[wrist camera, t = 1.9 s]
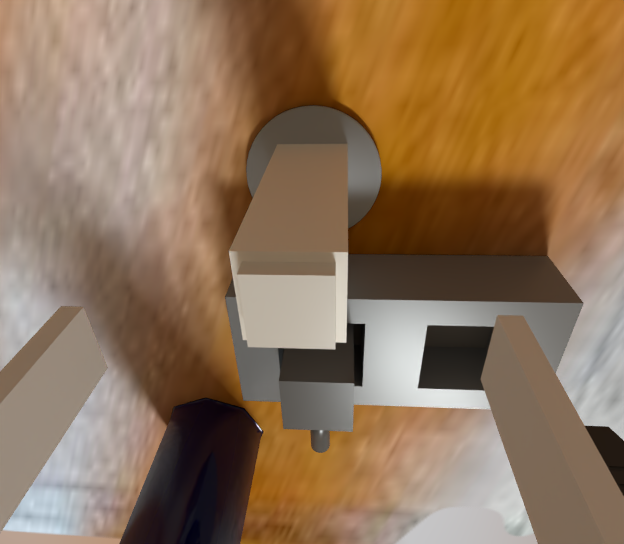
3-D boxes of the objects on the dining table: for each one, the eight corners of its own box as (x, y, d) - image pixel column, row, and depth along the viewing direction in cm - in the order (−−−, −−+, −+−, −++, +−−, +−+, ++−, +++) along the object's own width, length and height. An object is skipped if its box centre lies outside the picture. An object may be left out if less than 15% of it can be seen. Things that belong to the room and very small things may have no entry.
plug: (277, 144, 24) (222, 263, 14) (347, 143, 24) (348, 265, 13) (282, 208, 27) (238, 354, 16) (346, 208, 26) (346, 357, 16)
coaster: (239, 106, 24) (238, 108, 23) (385, 104, 23) (385, 105, 23) (254, 233, 28) (253, 236, 28) (377, 234, 28) (377, 237, 27)
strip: (242, 253, 29) (206, 344, 22) (547, 256, 28) (622, 355, 20) (257, 359, 34) (232, 461, 27) (512, 366, 33) (560, 476, 26)
